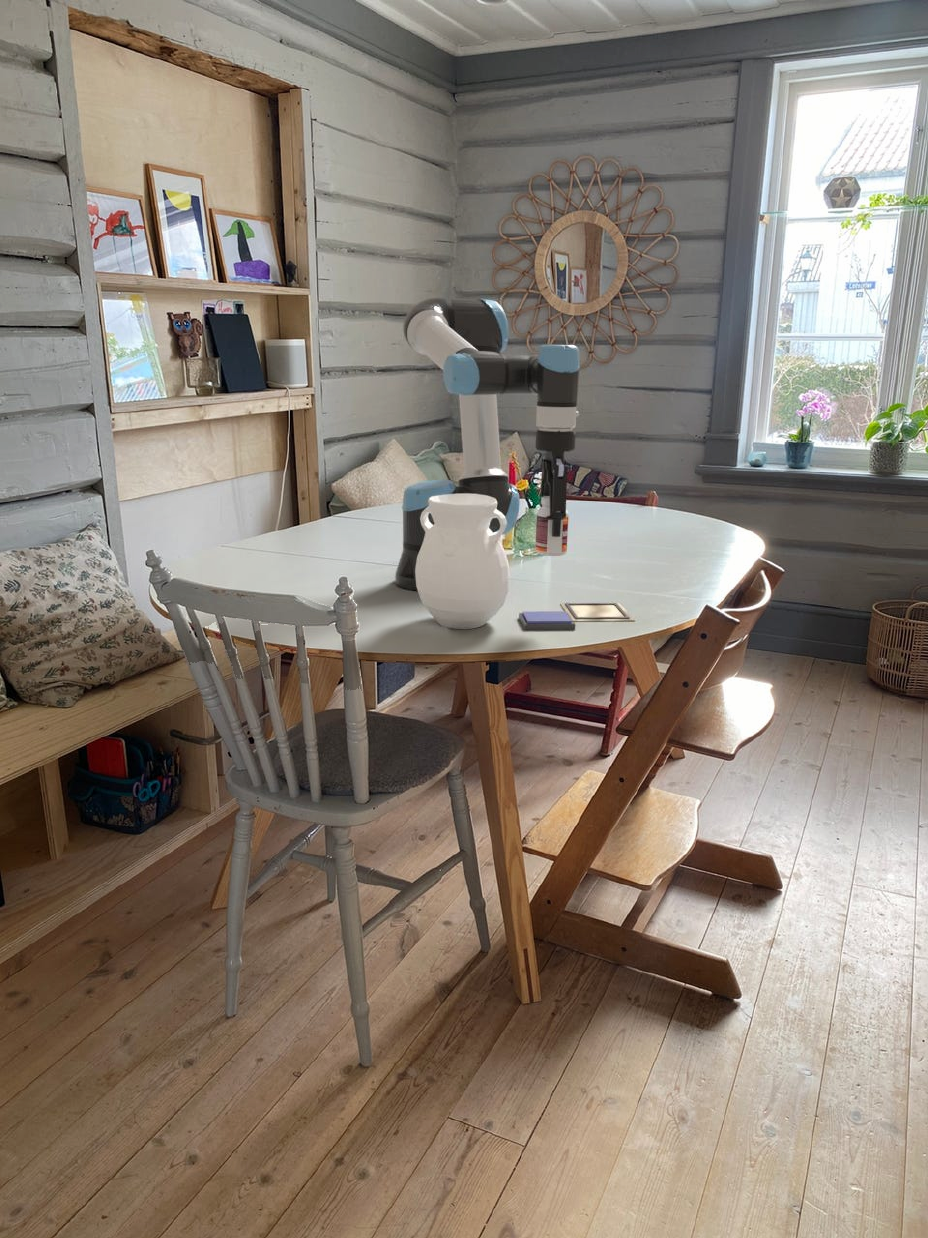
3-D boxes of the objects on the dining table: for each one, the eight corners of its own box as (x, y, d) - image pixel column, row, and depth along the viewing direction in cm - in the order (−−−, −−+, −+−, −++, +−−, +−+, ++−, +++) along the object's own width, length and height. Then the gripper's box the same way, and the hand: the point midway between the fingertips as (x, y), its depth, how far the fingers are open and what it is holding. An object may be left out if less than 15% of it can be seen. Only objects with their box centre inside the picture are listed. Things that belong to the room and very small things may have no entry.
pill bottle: (562, 557, 182) (564, 500, 179) (531, 555, 185) (533, 498, 182) (570, 551, 188) (572, 496, 185) (540, 549, 190) (542, 494, 187)
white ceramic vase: (399, 629, 184) (399, 501, 177) (435, 606, 201) (437, 488, 194) (490, 641, 178) (494, 509, 171) (520, 616, 195) (524, 495, 187)
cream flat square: (572, 621, 192) (572, 619, 192) (560, 604, 204) (560, 602, 204) (634, 621, 193) (635, 618, 193) (619, 603, 206) (619, 601, 205)
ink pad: (524, 629, 186) (525, 622, 185) (518, 618, 193) (519, 610, 193) (575, 629, 187) (575, 621, 186) (567, 618, 194) (567, 610, 194)
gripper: (586, 433, 171) (580, 559, 177) (565, 425, 189) (560, 539, 196) (545, 433, 170) (540, 559, 176) (528, 425, 189) (524, 539, 195)
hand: (550, 548), depth 186 cm, fingers closed on pill bottle, 6 cm apart
